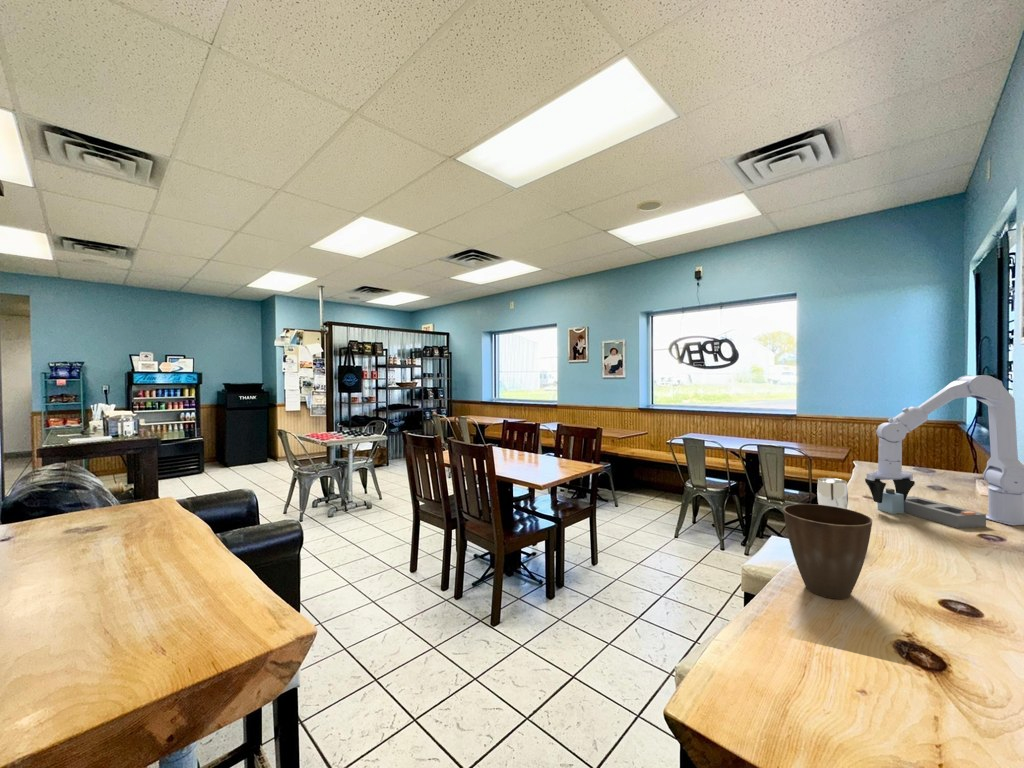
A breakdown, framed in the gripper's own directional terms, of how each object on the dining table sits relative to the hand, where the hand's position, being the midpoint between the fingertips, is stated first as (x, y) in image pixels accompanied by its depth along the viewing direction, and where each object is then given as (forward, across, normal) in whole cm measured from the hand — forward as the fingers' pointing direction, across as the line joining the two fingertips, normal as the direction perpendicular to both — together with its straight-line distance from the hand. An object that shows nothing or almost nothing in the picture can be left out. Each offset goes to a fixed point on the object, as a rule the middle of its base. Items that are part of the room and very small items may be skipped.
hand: (889, 501), depth 139 cm
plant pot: (+4, +62, +44) cm, 76 cm away
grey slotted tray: (+3, -8, +7) cm, 11 cm away
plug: (+3, 0, 0) cm, 3 cm away
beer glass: (+4, +34, +15) cm, 37 cm away
